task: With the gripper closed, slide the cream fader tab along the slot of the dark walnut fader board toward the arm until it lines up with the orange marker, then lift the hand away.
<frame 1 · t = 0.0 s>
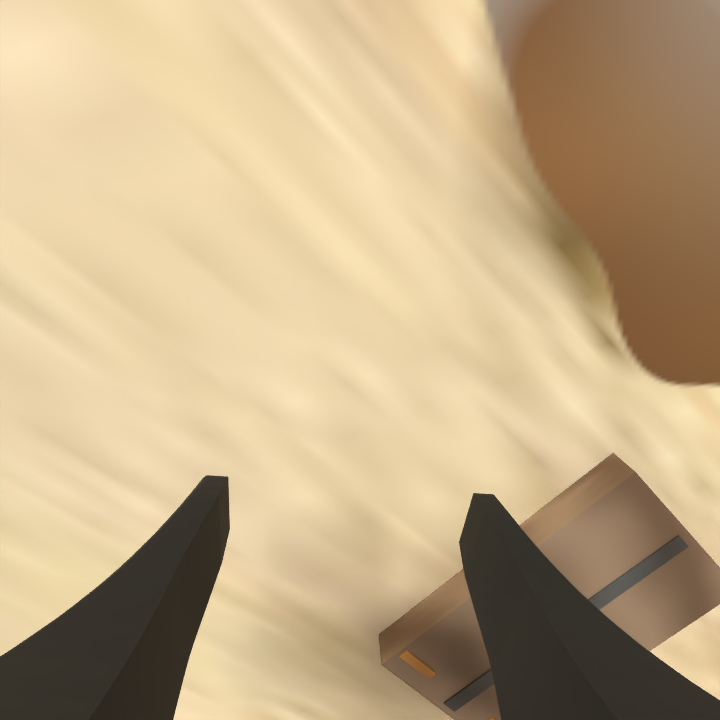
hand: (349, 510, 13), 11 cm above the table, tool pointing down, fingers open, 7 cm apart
fader board: (544, 600, 28), on the table
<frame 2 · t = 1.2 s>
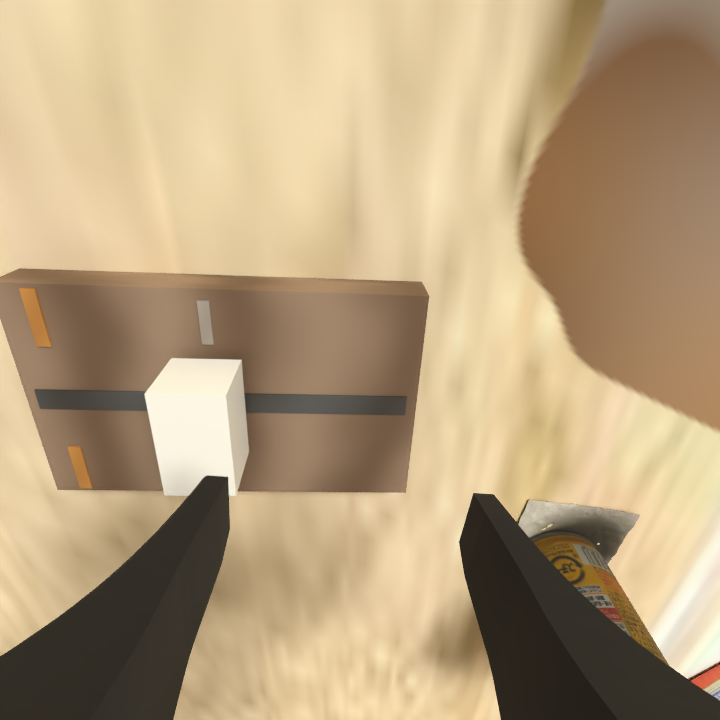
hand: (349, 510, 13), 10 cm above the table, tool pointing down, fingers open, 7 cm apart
fader board: (234, 380, 23), on the table
cracker box: (673, 703, 39), on the table
fader tab: (203, 426, 19), point 4 cm above the table, slide at 0.0 cm
condiment: (556, 549, 30), on the table
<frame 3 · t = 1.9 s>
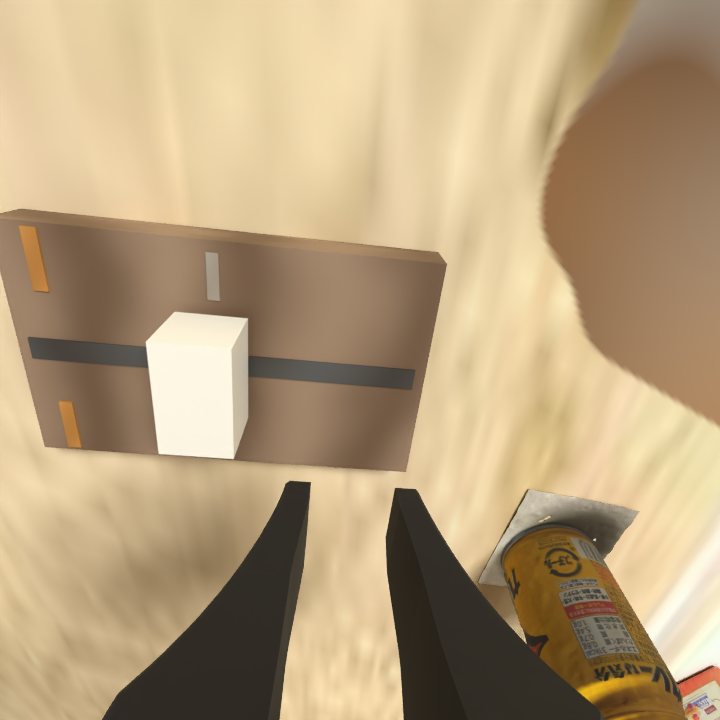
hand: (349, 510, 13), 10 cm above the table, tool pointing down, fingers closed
fader board: (237, 344, 22), on the table
cracker box: (655, 708, 39), on the table
fader tab: (204, 384, 19), point 4 cm above the table, slide at 0.0 cm
condiment: (551, 543, 29), on the table
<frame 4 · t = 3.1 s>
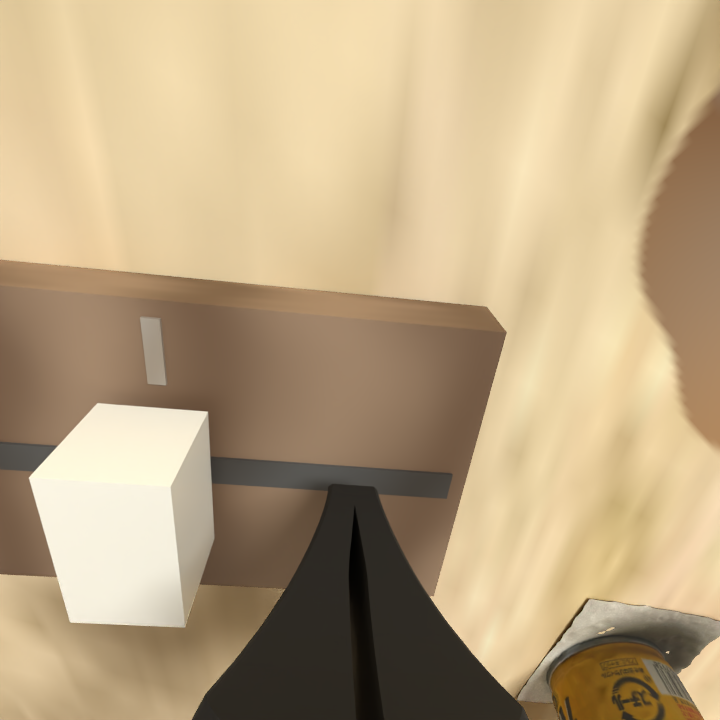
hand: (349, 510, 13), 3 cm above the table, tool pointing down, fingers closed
fader board: (201, 429, 16), on the table
fader tab: (140, 514, 12), point 4 cm above the table, slide at 0.0 cm
condiment: (611, 654, 23), on the table
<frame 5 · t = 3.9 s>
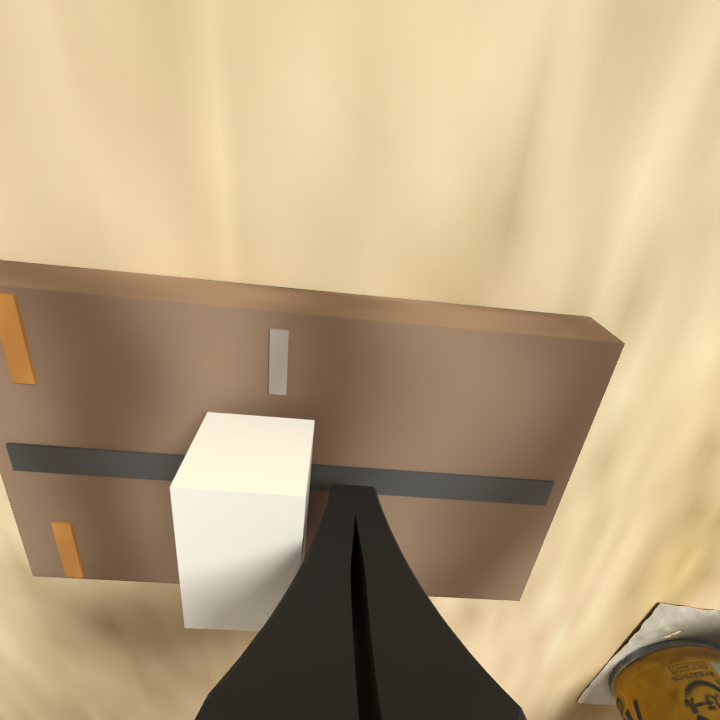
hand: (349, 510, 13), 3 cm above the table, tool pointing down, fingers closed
fader board: (297, 436, 16), on the table
fader tab: (251, 521, 13), point 4 cm above the table, slide at 0.4 cm, touching gripper
condiment: (674, 657, 23), on the table
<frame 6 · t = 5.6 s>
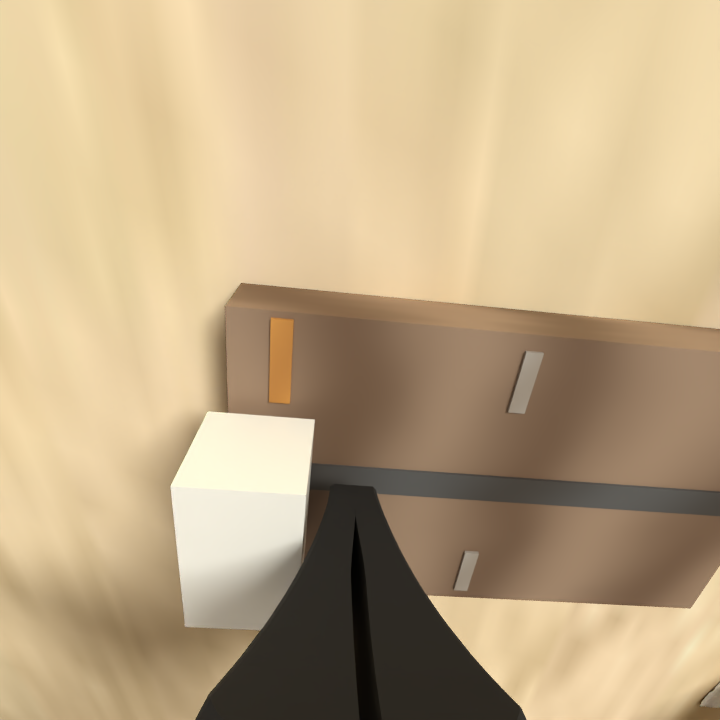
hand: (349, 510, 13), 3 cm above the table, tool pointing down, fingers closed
fader board: (489, 450, 17), on the table
fader tab: (251, 520, 13), point 4 cm above the table, slide at 7.4 cm, touching gripper
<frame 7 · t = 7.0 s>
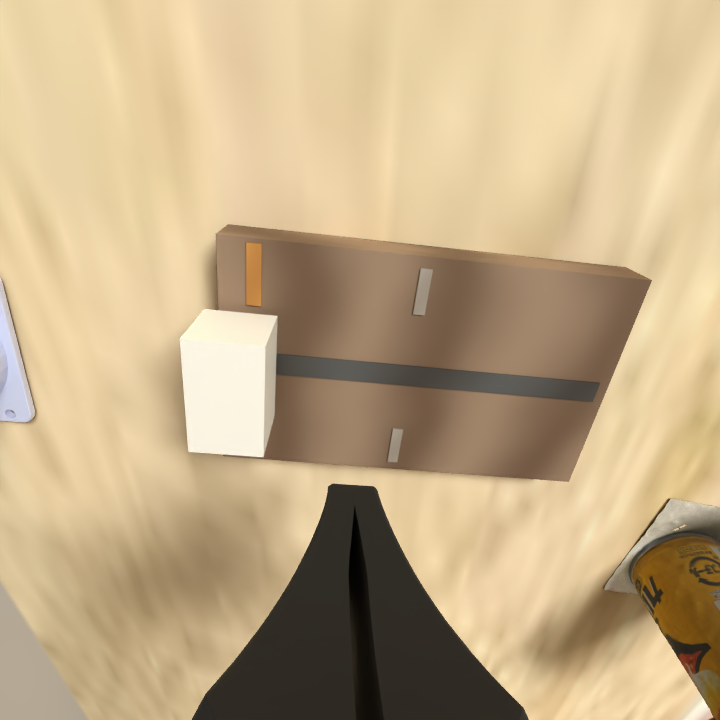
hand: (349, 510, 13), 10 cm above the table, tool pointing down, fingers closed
fader board: (412, 356, 23), on the table
fader tab: (233, 382, 18), point 4 cm above the table, slide at 7.4 cm
condiment: (680, 551, 30), on the table
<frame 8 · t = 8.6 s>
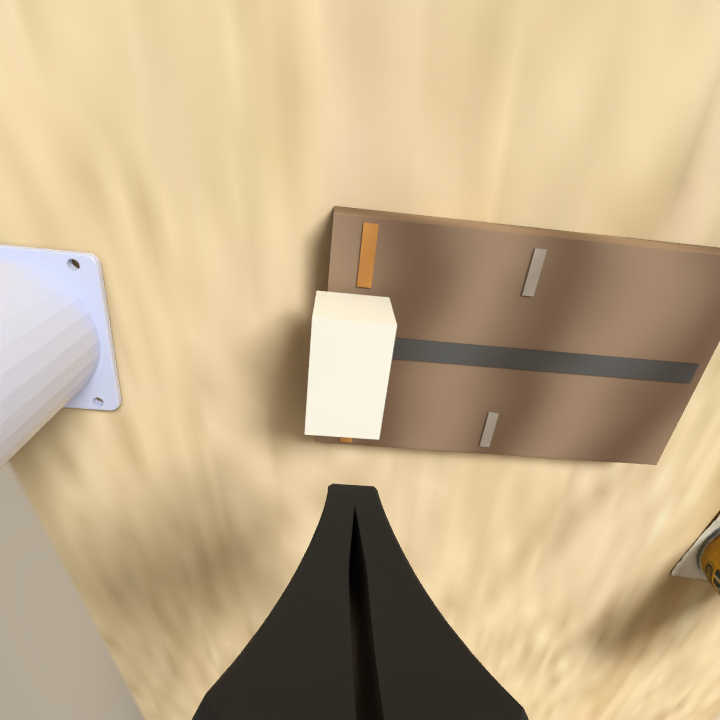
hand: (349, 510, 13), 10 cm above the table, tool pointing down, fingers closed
fader board: (505, 340, 22), on the table
fader tab: (347, 364, 18), point 4 cm above the table, slide at 7.4 cm
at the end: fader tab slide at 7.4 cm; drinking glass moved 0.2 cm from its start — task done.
